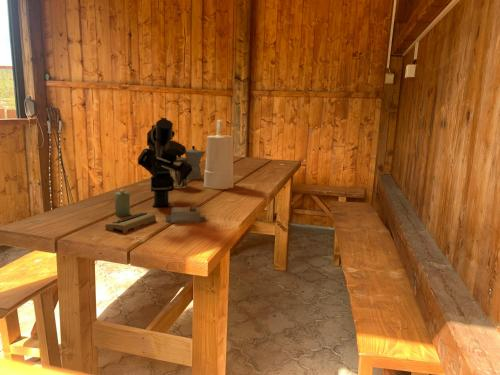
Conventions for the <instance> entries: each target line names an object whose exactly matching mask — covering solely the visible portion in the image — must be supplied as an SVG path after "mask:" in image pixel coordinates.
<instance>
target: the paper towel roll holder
mask: <svg viewBox="0 0 500 375" xmlns="http://www.w3.org/2000/svg"><path fill="white" fill-rule="evenodd" d="M221 131H223V120H222V119H217V121H216V135H207V136H206V152H205V165H204V168H205V169H204V173H203V174H204V176H203V187H205V188H208V189H214V190H227V189H233V188H234V187H235V186H234V157H233V156H234V153H233V152H234V151H233V150H234V148H233V136H231V135H227V134H226V135H223V134H221Z"/></svg>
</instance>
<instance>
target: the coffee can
mask: <svg viewBox="0 0 500 375" xmlns="http://www.w3.org/2000/svg"><path fill="white" fill-rule="evenodd" d="M187 160H188V159H187V158H186V157H183V156H181V157H178V156H177V160H176V161H174V164H175V165H178V166H179V165H180V164H181V162H185V163H187ZM170 173H171V176H172V177H173V179H174V189H185V188H187V187H188V179H187V178H186V179H184V180H182V183H181V185H180V186H179V185H178V183H177V181H176V179H175V171H172V170H170Z"/></svg>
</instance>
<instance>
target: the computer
mask: <svg viewBox="0 0 500 375" xmlns="http://www.w3.org/2000/svg"><path fill="white" fill-rule="evenodd" d="M156 220H157V218H156V214H154V213H147V212H140V213H136V214H131V215H128V216H124V218H120V219H117V220H115V221H112V222H108V223H106V224H105V226H104V227H105V230H107V231H111V232H117V233H120V234H126V233H128V232H129V231H131V230H133V231H134V230H137V229H139V228H143V227H145V226H146V225H150V224H152V223H154V222H156Z"/></svg>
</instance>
